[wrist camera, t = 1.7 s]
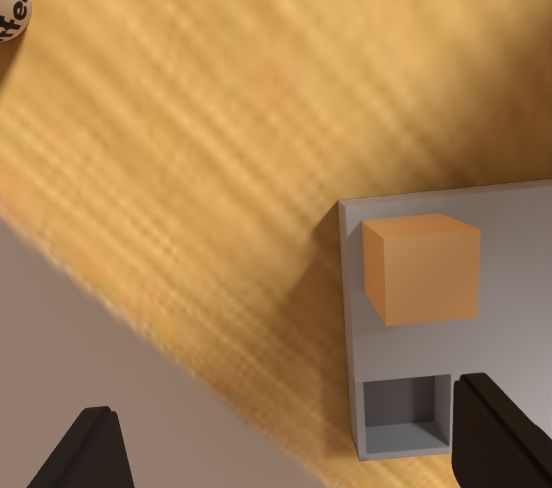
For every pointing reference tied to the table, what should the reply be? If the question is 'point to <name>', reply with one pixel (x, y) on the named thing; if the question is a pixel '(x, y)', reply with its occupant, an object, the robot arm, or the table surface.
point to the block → (421, 268)
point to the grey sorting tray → (451, 321)
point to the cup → (13, 17)
